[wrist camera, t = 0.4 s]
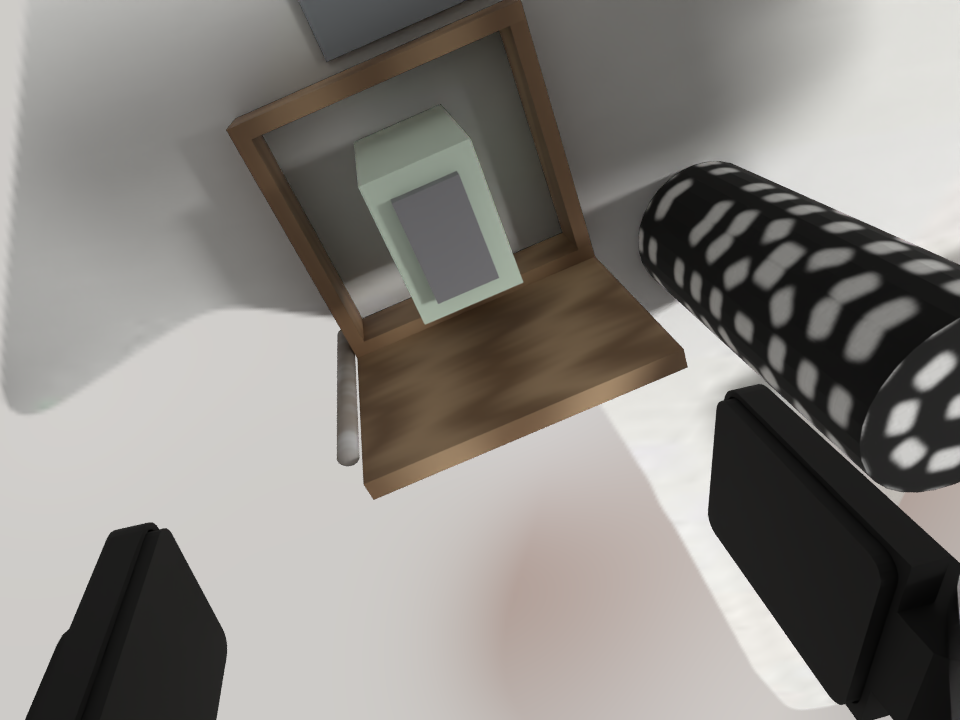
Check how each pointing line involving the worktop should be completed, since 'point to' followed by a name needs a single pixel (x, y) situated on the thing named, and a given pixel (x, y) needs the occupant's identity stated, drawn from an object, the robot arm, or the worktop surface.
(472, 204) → the module
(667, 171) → the worktop surface
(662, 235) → the white-spotted black cylinder
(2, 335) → the worktop surface
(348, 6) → the mat
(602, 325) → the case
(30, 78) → the worktop surface
